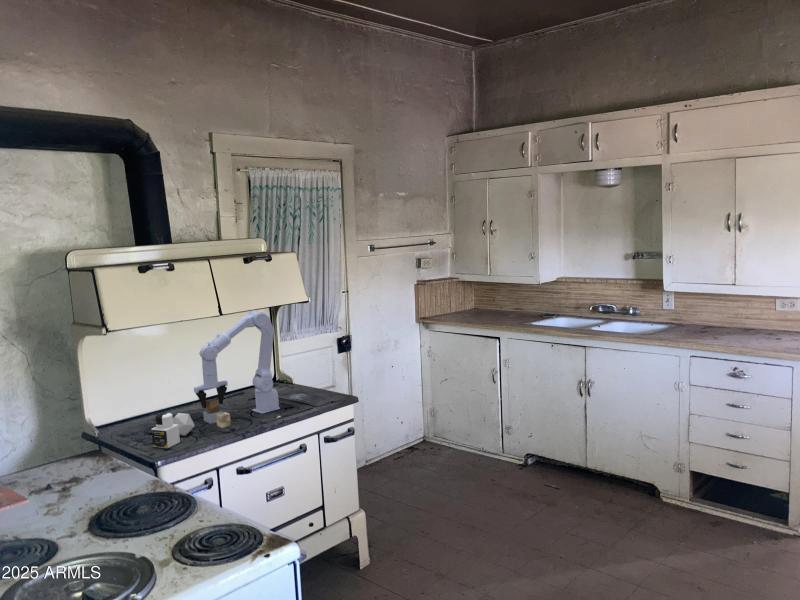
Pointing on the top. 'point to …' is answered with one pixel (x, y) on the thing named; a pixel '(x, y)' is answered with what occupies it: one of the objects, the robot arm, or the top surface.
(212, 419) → the base block
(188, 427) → the die
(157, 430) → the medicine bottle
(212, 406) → the walnut block
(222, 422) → the maple block
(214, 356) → the robot arm
